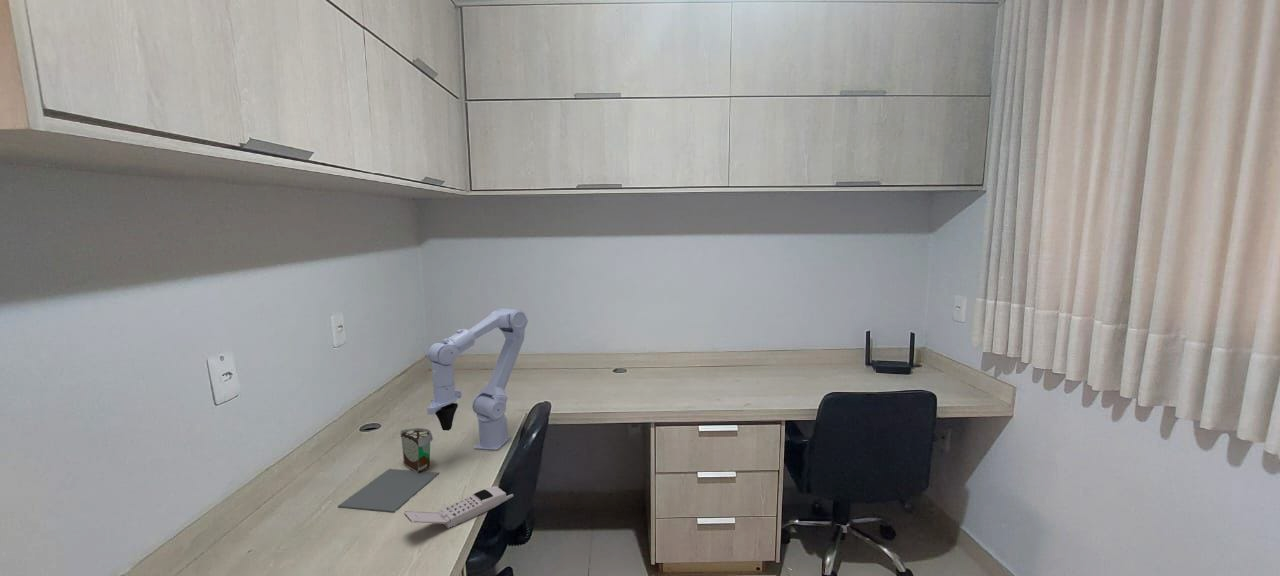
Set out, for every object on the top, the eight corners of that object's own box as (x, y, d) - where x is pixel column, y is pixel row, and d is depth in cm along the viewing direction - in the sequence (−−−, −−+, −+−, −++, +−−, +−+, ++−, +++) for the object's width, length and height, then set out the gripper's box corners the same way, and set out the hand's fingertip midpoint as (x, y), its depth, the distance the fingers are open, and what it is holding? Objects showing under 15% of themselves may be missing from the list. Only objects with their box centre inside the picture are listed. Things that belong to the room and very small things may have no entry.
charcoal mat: (389, 470, 144) (389, 468, 144) (439, 473, 141) (439, 472, 141) (338, 507, 125) (337, 505, 125) (394, 512, 122) (394, 511, 122)
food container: (441, 467, 144) (440, 433, 143) (420, 474, 139) (419, 440, 138) (422, 456, 152) (420, 424, 151) (401, 463, 147) (400, 430, 147)
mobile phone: (402, 511, 113) (501, 469, 130) (404, 535, 113) (503, 490, 131) (412, 522, 108) (513, 478, 126) (414, 547, 109) (515, 499, 127)
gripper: (445, 376, 152) (448, 419, 153) (415, 391, 137) (419, 438, 139) (466, 377, 150) (469, 420, 152) (439, 393, 136) (442, 440, 138)
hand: (446, 429), depth 145 cm, fingers closed
